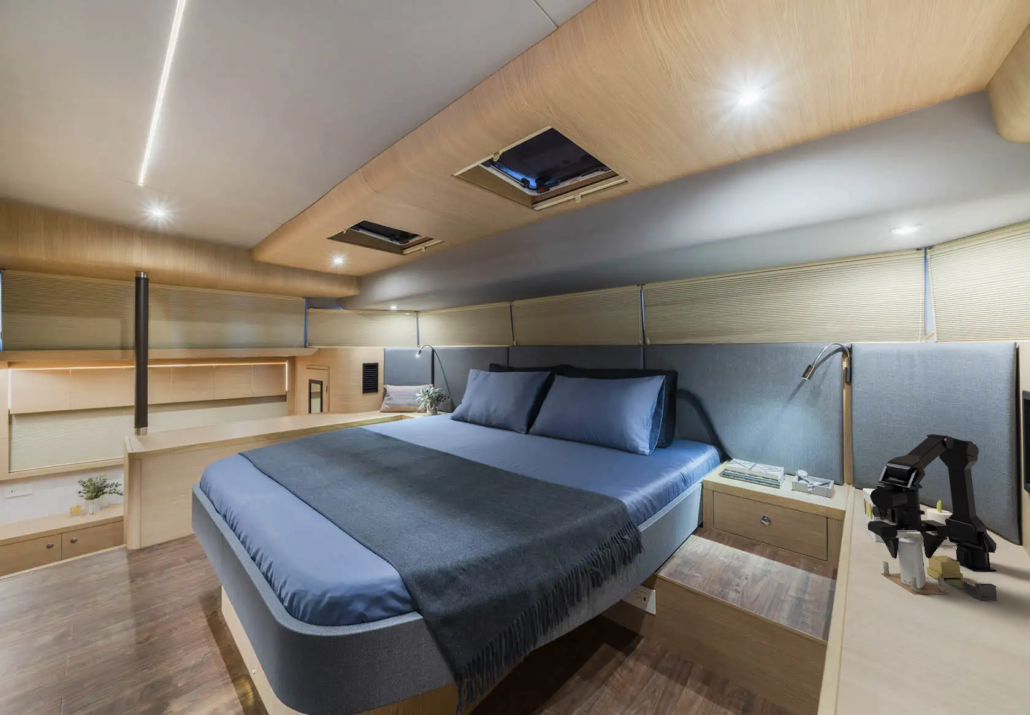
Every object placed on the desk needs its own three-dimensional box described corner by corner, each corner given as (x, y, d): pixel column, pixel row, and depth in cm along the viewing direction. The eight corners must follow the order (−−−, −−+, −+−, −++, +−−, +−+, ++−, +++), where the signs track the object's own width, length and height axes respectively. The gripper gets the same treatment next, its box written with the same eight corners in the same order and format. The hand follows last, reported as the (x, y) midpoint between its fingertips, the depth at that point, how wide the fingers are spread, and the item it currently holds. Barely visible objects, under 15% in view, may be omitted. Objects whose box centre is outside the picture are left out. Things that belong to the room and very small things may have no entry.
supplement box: (865, 531, 151) (861, 487, 152) (896, 535, 147) (892, 489, 148) (875, 542, 143) (871, 495, 143) (909, 545, 139) (904, 497, 139)
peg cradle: (912, 574, 121) (911, 560, 121) (948, 594, 110) (947, 579, 110) (881, 574, 121) (880, 560, 122) (913, 594, 111) (912, 579, 111)
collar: (949, 573, 119) (948, 555, 120) (963, 580, 115) (961, 562, 116) (927, 573, 120) (925, 555, 120) (940, 580, 116) (938, 562, 116)
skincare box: (921, 589, 112) (917, 546, 113) (899, 583, 116) (896, 541, 116) (926, 582, 116) (923, 540, 116) (905, 576, 119) (902, 535, 120)
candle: (942, 537, 143) (938, 496, 144) (960, 545, 137) (956, 501, 138) (923, 537, 144) (919, 496, 145) (940, 545, 138) (937, 502, 138)
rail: (944, 573, 120) (942, 560, 120) (997, 601, 106) (995, 585, 106) (929, 573, 120) (928, 560, 121) (981, 601, 106) (979, 585, 106)
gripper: (915, 495, 124) (919, 545, 123) (851, 496, 125) (856, 546, 125) (951, 507, 113) (956, 562, 112) (881, 508, 114) (885, 563, 114)
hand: (911, 558), depth 116 cm, fingers open, 9 cm apart
